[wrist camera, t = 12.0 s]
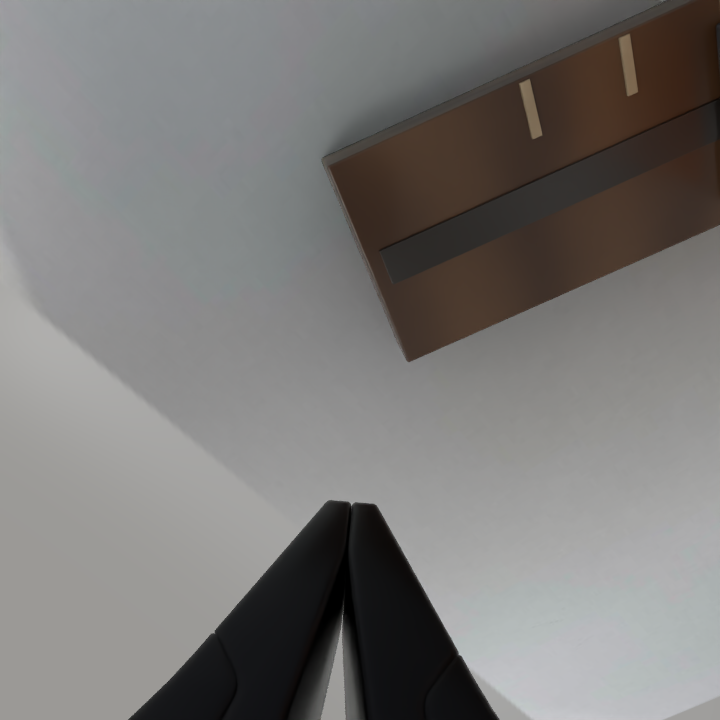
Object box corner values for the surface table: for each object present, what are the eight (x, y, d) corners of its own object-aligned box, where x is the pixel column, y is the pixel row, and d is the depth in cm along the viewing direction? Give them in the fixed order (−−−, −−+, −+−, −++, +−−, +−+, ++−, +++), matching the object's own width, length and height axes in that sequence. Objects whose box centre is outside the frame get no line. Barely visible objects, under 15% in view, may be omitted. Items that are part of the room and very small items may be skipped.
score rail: (398, 344, 22) (433, 409, 18) (320, 158, 18) (341, 188, 14) (921, 112, 21) (1078, 126, 17) (941, -125, 18) (1143, -176, 14)
